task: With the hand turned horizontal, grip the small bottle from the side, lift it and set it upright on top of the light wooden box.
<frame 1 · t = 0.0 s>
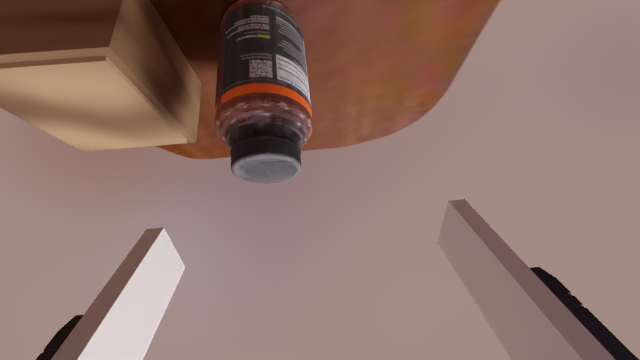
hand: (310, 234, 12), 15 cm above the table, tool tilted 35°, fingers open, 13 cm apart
light wooden box: (112, 44, 18), on the table
supplement bottle: (263, 31, 19), on the table
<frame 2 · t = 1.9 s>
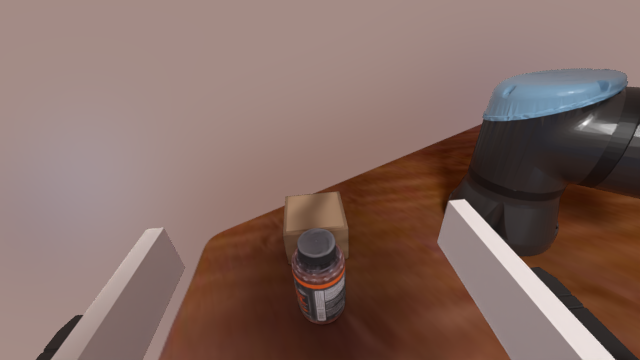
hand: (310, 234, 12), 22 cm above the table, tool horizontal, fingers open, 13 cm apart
light wooden box: (316, 239, 41), on the table
supplement bottle: (322, 303, 32), on the table
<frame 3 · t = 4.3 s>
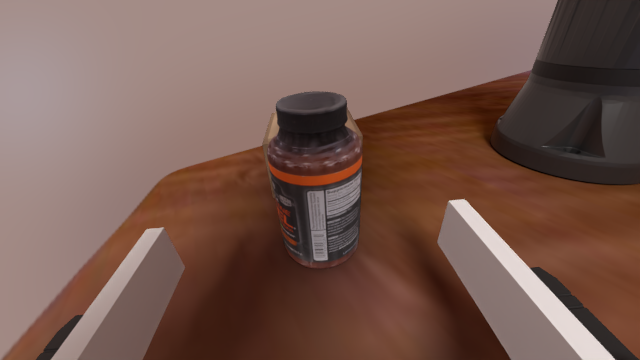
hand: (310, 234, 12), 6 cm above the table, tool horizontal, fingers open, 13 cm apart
light wooden box: (314, 172, 29), on the table
supplement bottle: (321, 243, 20), on the table
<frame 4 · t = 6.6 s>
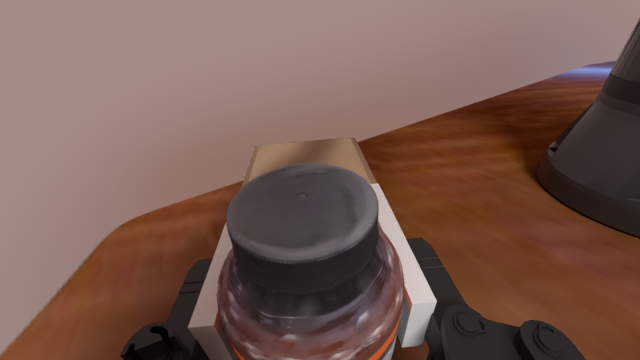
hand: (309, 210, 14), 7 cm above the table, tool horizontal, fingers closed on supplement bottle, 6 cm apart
light wooden box: (312, 225, 22), on the table
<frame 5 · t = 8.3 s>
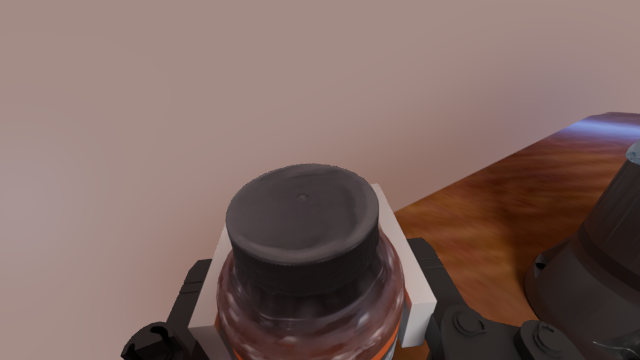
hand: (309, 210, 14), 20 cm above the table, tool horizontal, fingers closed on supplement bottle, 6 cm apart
when the fingers open (14 cm above the table, at t = 10.2 s): supplement bottle drops 1 cm, resting on light wooden box.
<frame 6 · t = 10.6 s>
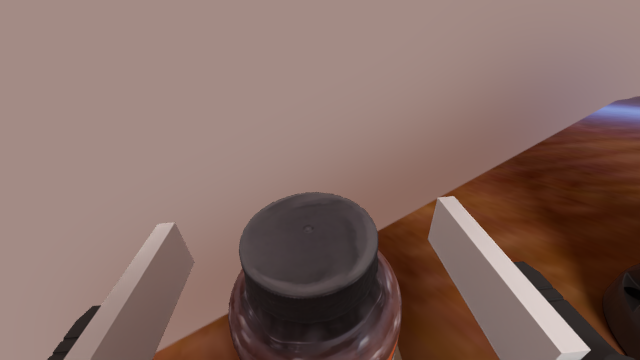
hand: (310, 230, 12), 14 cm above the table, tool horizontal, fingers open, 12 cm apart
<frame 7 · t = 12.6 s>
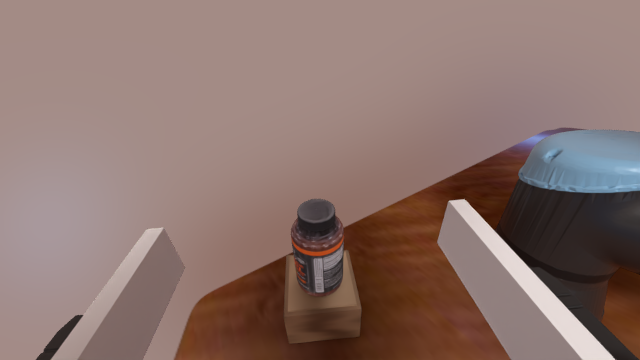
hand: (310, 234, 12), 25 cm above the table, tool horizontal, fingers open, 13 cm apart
light wooden box: (321, 306, 35), on the table
supplement bottle: (320, 279, 32), point 6 cm above the table, touching light wooden box
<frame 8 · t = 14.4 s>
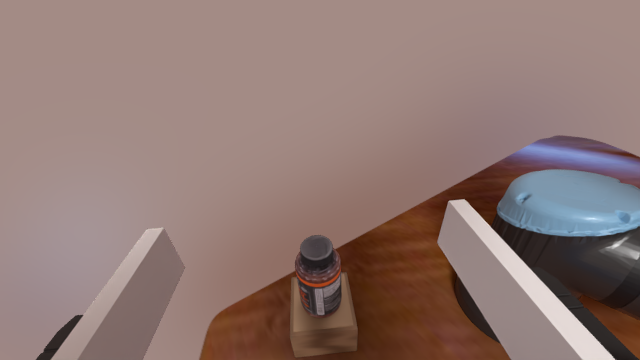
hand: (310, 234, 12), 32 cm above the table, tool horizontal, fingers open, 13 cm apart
light wooden box: (323, 322, 40), on the table
supplement bottle: (321, 300, 37), point 6 cm above the table, touching light wooden box
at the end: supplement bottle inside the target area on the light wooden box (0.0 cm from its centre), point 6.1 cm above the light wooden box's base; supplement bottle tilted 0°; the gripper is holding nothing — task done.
